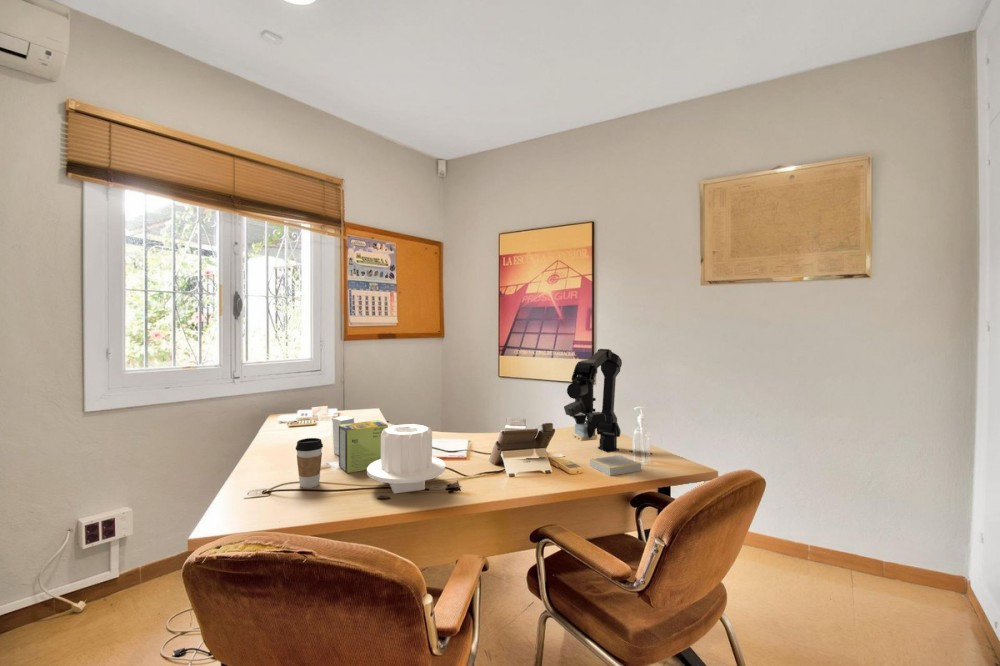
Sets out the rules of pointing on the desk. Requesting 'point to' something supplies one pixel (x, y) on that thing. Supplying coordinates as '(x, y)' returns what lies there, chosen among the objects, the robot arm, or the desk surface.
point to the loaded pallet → (583, 433)
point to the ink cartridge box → (515, 424)
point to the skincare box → (336, 423)
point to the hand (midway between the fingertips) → (585, 435)
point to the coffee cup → (309, 461)
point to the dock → (615, 465)
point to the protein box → (360, 444)
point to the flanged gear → (406, 458)
